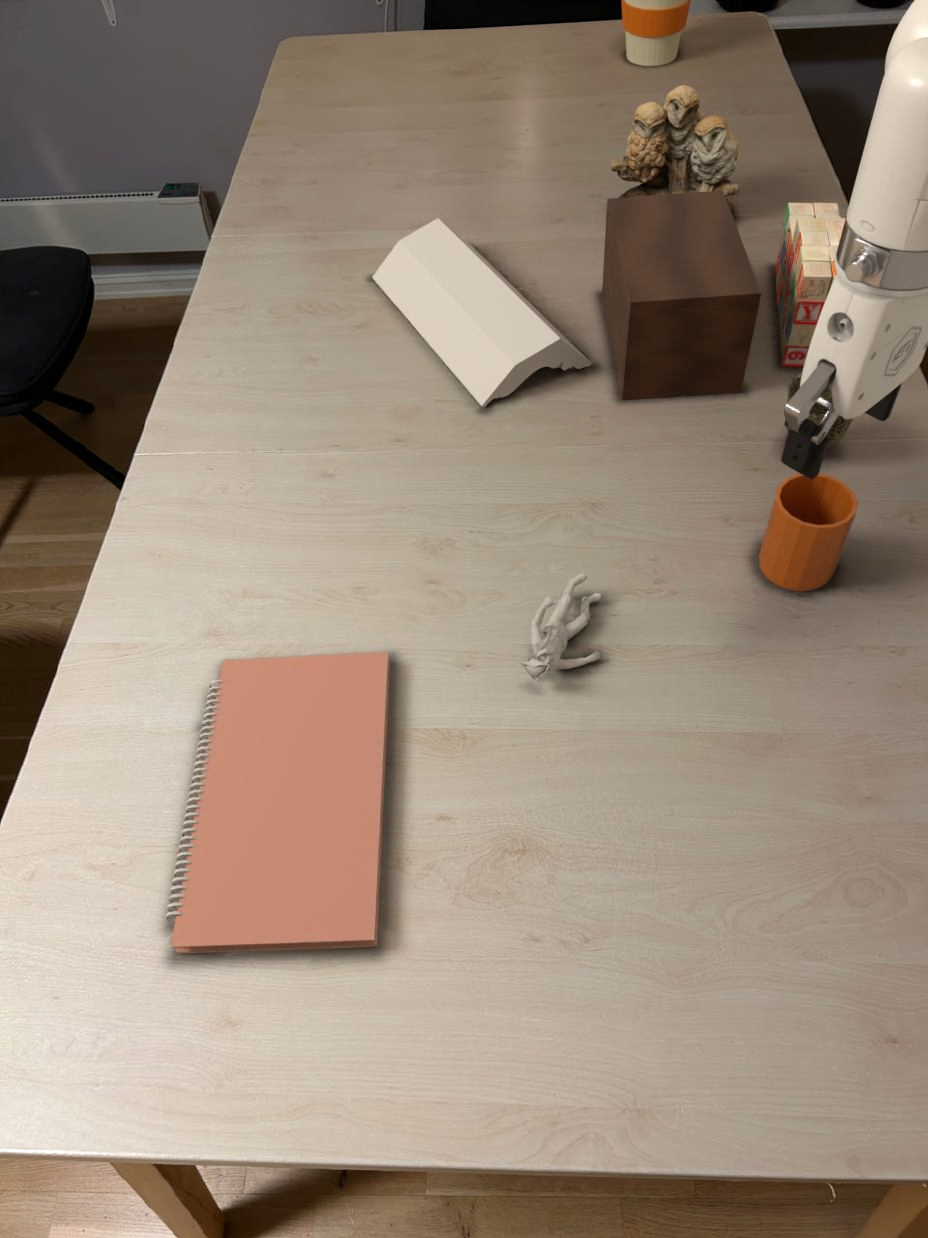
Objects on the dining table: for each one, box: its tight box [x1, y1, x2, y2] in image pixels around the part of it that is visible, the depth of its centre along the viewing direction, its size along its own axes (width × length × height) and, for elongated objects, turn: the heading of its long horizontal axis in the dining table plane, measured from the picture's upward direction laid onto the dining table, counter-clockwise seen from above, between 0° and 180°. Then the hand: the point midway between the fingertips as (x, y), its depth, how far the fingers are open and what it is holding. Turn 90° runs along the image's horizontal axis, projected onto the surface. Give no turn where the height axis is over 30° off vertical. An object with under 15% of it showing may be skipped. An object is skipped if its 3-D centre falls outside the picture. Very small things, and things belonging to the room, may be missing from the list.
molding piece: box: [371, 217, 593, 408], centre depth 122 cm, size 32×12×10 cm
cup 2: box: [758, 472, 859, 592], centre depth 90 cm, size 7×7×9 cm
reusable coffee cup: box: [621, 0, 692, 67], centre depth 163 cm, size 13×13×15 cm
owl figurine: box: [610, 84, 740, 217], centre depth 129 cm, size 18×12×17 cm, turn 77°
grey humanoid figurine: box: [519, 572, 603, 681], centre depth 88 cm, size 8×5×12 cm
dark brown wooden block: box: [601, 190, 763, 401], centre depth 112 cm, size 14×22×13 cm, turn 1°
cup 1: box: [785, 371, 854, 448], centre depth 100 cm, size 8×7×8 cm
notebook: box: [165, 650, 391, 954], centre depth 80 cm, size 27×17×2 cm, turn 1°
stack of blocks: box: [775, 202, 846, 368], centre depth 114 cm, size 21×6×12 cm, turn 171°
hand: (835, 440), depth 77 cm, fingers open, 9 cm apart
